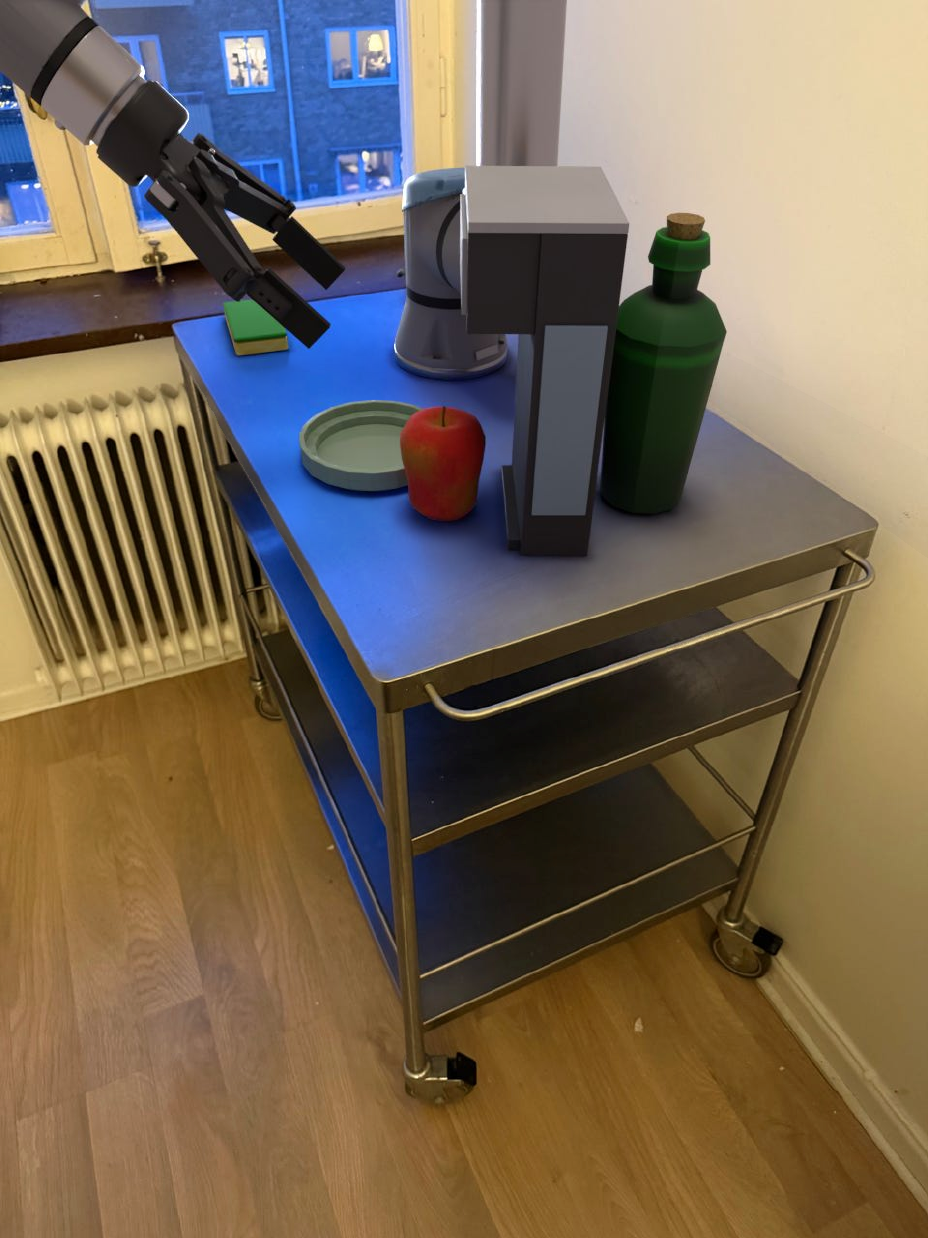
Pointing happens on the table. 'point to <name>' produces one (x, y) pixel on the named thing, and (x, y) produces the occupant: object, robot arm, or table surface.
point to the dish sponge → (253, 328)
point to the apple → (443, 461)
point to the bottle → (661, 373)
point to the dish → (357, 445)
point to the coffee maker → (547, 333)
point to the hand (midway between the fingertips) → (328, 306)
